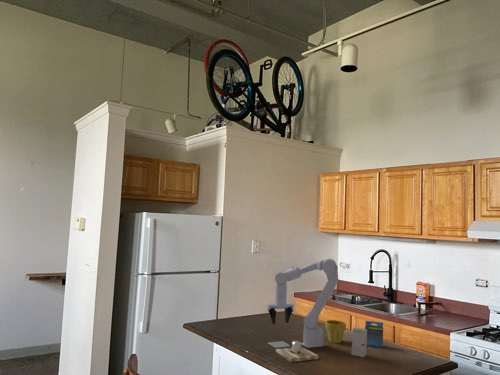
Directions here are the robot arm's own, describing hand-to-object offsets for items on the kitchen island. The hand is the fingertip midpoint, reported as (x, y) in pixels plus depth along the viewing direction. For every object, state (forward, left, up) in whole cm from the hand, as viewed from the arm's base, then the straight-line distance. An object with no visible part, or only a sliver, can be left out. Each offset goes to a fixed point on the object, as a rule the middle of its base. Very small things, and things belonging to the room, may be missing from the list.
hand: (280, 323), depth 212 cm
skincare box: (-26, +30, -10) cm, 41 cm away
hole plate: (+3, +22, -9) cm, 24 cm away
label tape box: (-44, +19, -10) cm, 49 cm away
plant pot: (-29, +7, -10) cm, 31 cm away
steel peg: (+3, +22, -9) cm, 24 cm away
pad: (+3, +5, -9) cm, 11 cm away
